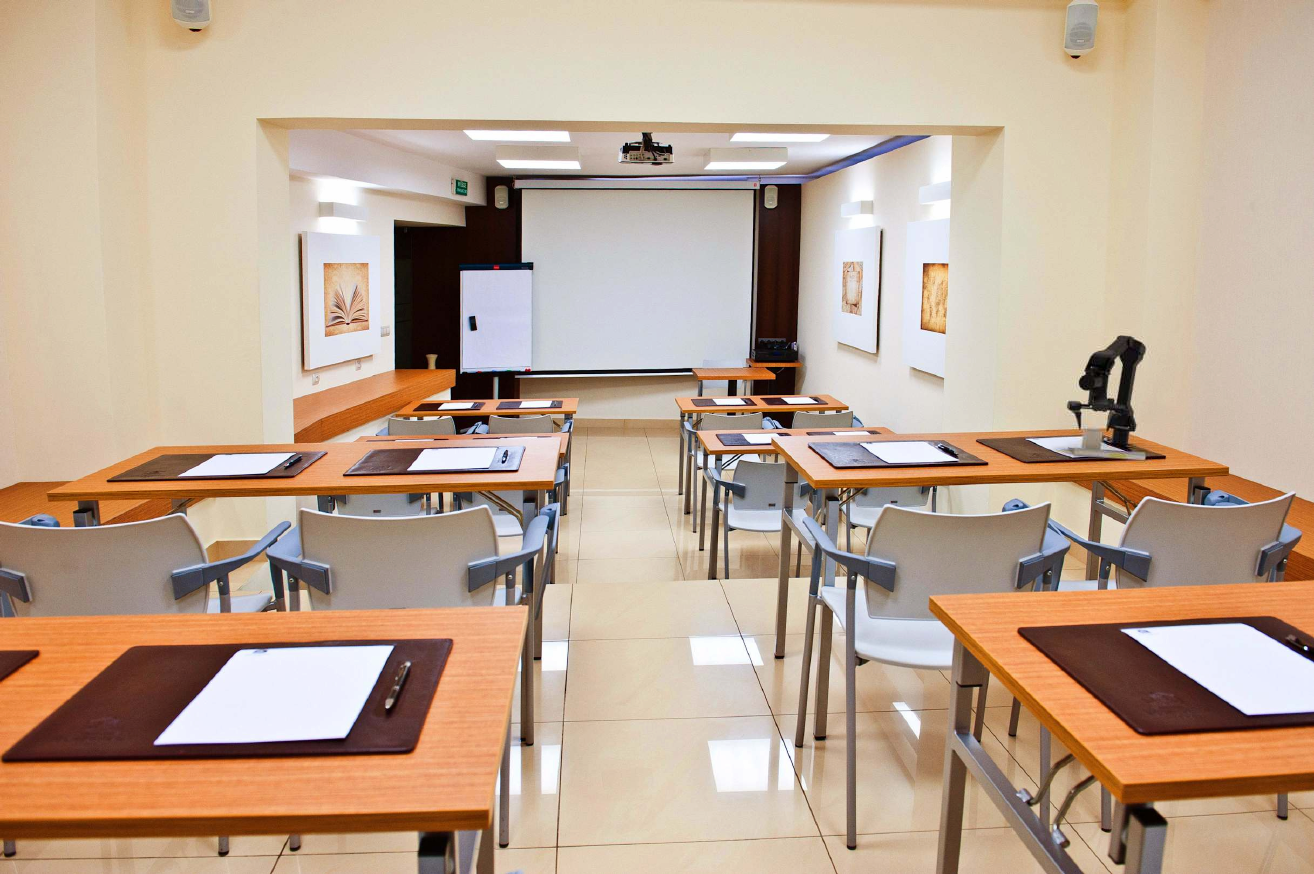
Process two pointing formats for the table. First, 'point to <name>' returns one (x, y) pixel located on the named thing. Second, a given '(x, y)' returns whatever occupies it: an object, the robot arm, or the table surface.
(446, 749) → the table surface
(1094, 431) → the tea box
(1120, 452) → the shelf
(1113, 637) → the table surface
